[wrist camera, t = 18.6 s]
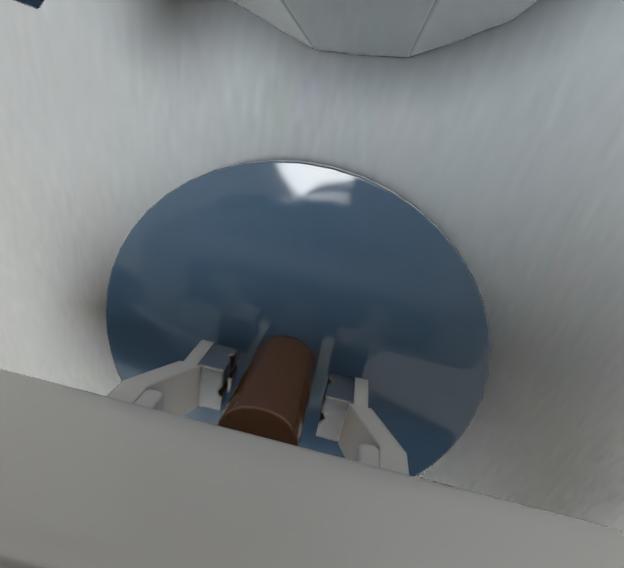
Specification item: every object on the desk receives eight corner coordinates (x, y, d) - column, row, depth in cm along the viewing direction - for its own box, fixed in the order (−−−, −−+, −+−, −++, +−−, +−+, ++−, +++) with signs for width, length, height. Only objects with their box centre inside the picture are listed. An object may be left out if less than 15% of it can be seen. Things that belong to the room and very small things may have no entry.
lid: (556, 391, 15) (648, 517, 10) (276, 517, 20) (246, 640, 15) (317, 54, 12) (278, -3, 7) (58, 309, 17) (-68, 379, 12)
